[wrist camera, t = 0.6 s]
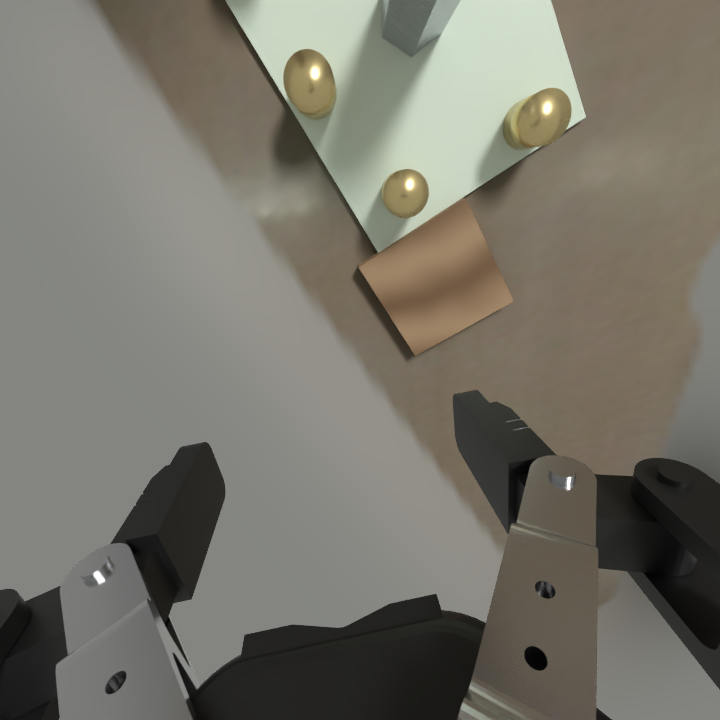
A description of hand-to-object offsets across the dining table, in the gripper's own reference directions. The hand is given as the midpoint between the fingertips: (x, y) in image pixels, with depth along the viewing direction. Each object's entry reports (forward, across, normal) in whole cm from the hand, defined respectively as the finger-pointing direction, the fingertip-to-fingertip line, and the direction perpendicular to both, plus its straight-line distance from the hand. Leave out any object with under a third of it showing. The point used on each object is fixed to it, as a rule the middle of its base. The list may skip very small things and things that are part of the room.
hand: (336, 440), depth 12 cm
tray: (+22, -10, 0) cm, 24 cm away
